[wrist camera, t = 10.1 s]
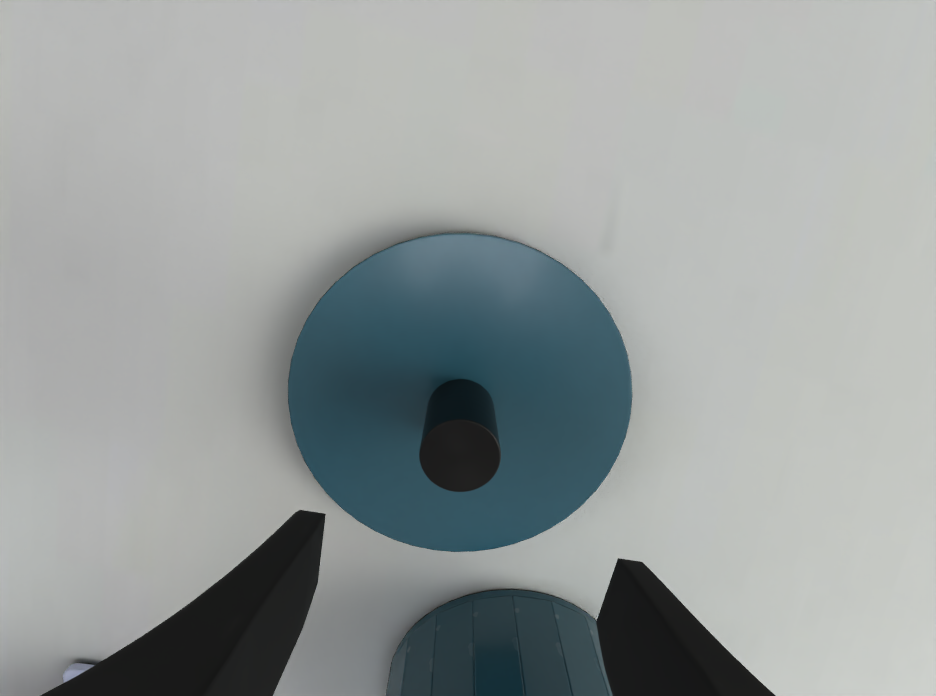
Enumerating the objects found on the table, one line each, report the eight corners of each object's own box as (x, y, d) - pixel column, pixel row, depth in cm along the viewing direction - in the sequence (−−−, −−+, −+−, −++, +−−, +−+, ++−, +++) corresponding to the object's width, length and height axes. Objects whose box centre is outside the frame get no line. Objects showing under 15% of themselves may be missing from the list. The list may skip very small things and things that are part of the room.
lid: (285, 511, 21) (236, 595, 16) (311, 200, 17) (256, 197, 12) (577, 554, 21) (608, 646, 17) (665, 267, 18) (734, 287, 13)
